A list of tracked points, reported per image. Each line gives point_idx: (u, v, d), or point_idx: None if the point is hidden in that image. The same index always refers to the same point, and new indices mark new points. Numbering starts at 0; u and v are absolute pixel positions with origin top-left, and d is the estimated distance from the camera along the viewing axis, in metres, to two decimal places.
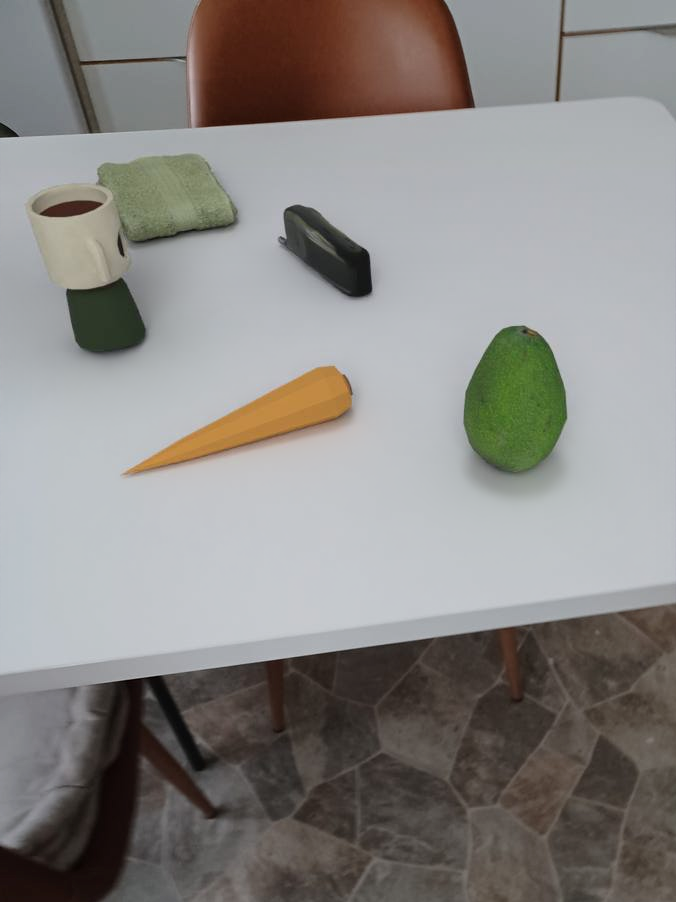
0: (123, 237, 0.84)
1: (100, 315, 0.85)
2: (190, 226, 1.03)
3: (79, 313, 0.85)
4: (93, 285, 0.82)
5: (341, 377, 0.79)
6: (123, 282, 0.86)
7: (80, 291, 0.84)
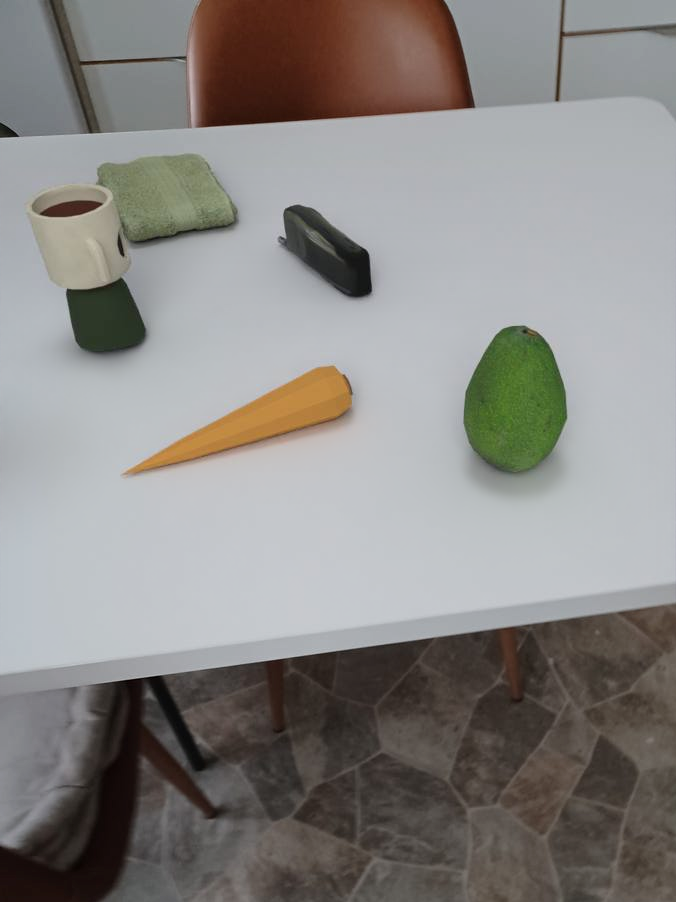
0: (123, 237, 0.84)
1: (100, 315, 0.85)
2: (190, 226, 1.03)
3: (79, 313, 0.85)
4: (93, 285, 0.82)
5: (341, 377, 0.79)
6: (123, 282, 0.86)
7: (80, 291, 0.84)
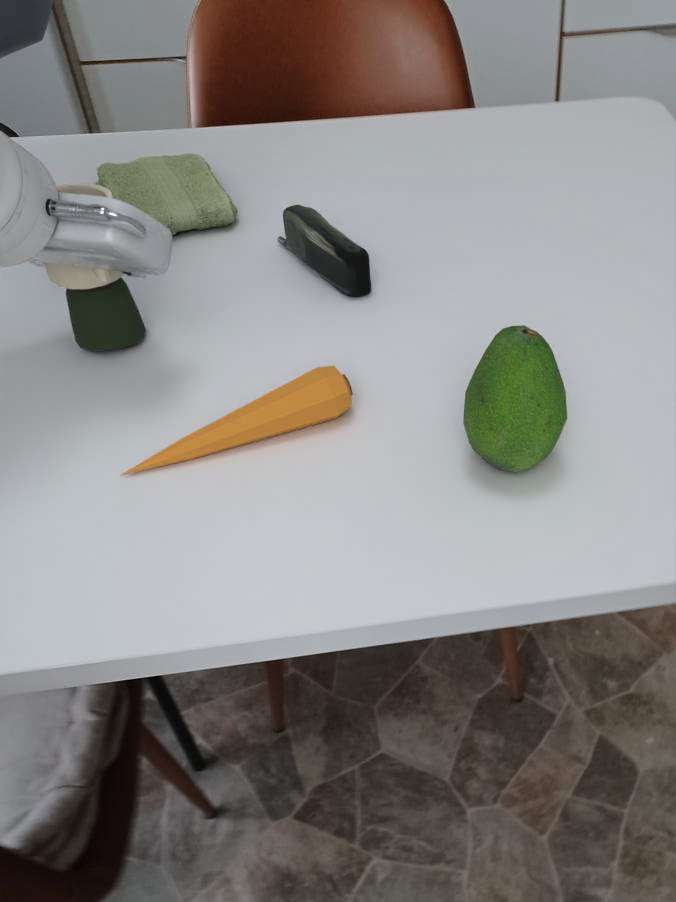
0: None
1: (100, 315, 0.85)
2: (190, 226, 1.03)
3: (79, 313, 0.85)
4: (93, 285, 0.82)
5: (341, 377, 0.79)
6: (123, 282, 0.86)
7: (79, 291, 0.84)
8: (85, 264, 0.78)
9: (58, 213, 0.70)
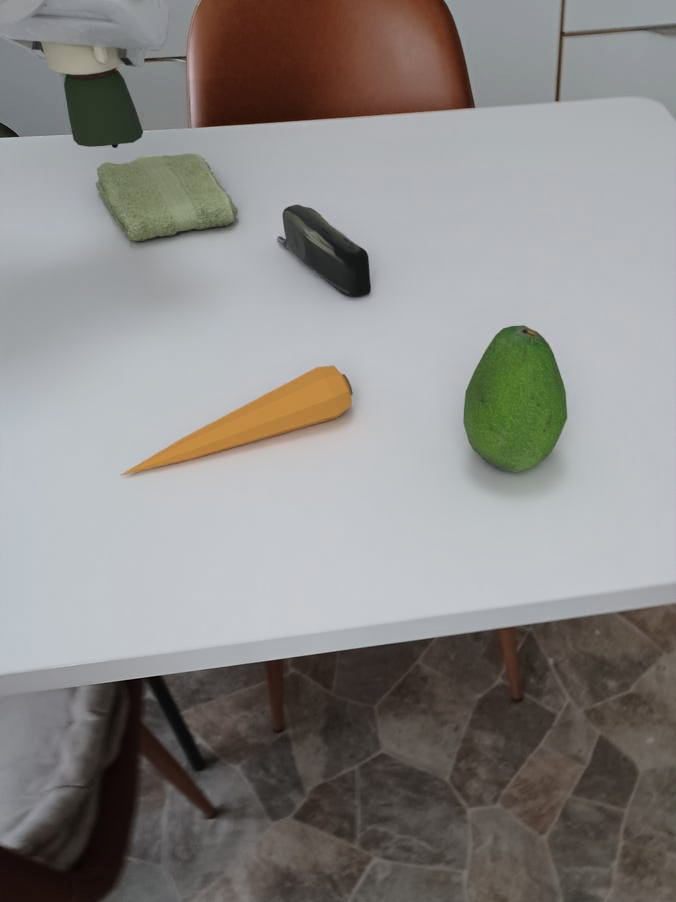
0: None
1: (98, 106, 0.86)
2: (190, 226, 1.03)
3: (77, 103, 0.86)
4: (91, 70, 0.83)
5: (341, 377, 0.79)
6: (120, 76, 0.87)
7: (77, 80, 0.85)
8: (83, 39, 0.79)
9: None
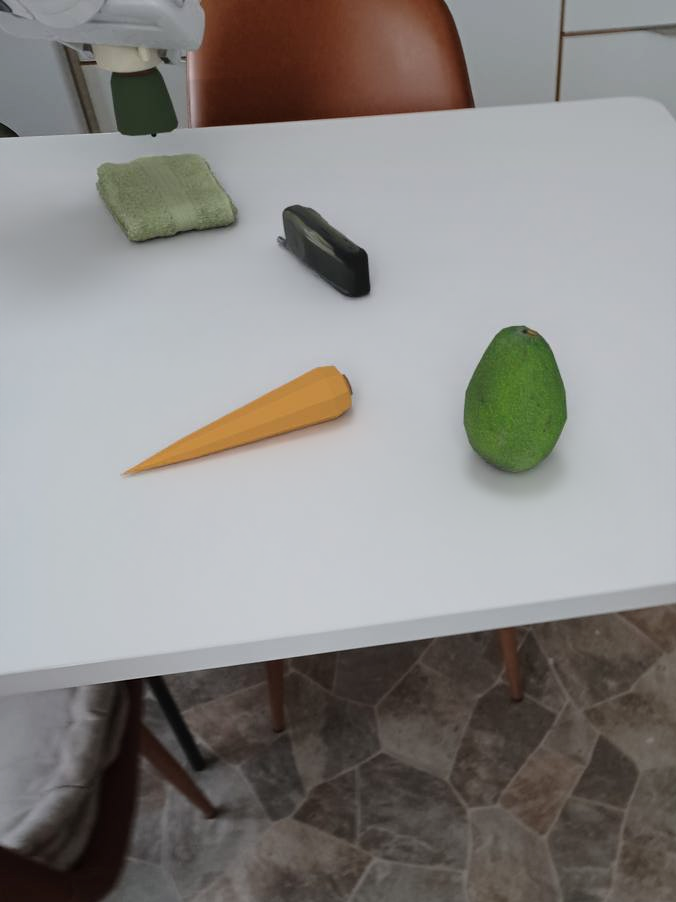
0: None
1: (140, 100, 0.98)
2: (190, 226, 1.03)
3: (122, 98, 0.98)
4: (135, 68, 0.95)
5: (341, 377, 0.79)
6: (159, 73, 0.99)
7: (123, 77, 0.97)
8: (130, 41, 0.91)
9: None
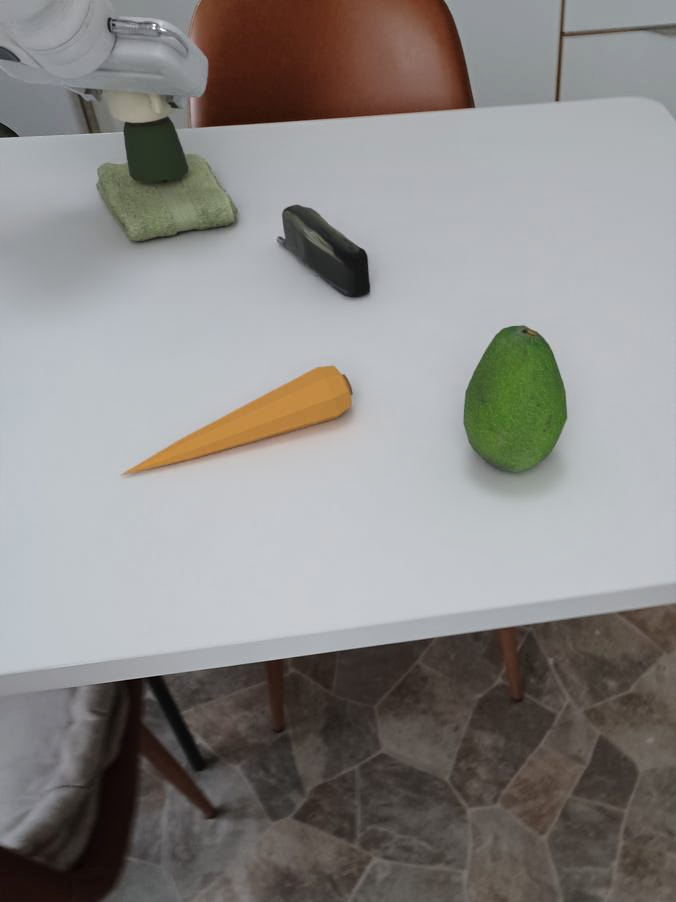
0: None
1: (152, 148, 1.01)
2: (190, 226, 1.03)
3: (135, 146, 1.01)
4: (147, 119, 0.98)
5: (341, 377, 0.79)
6: (171, 122, 1.02)
7: (135, 126, 1.00)
8: (135, 87, 0.93)
9: (117, 29, 0.85)
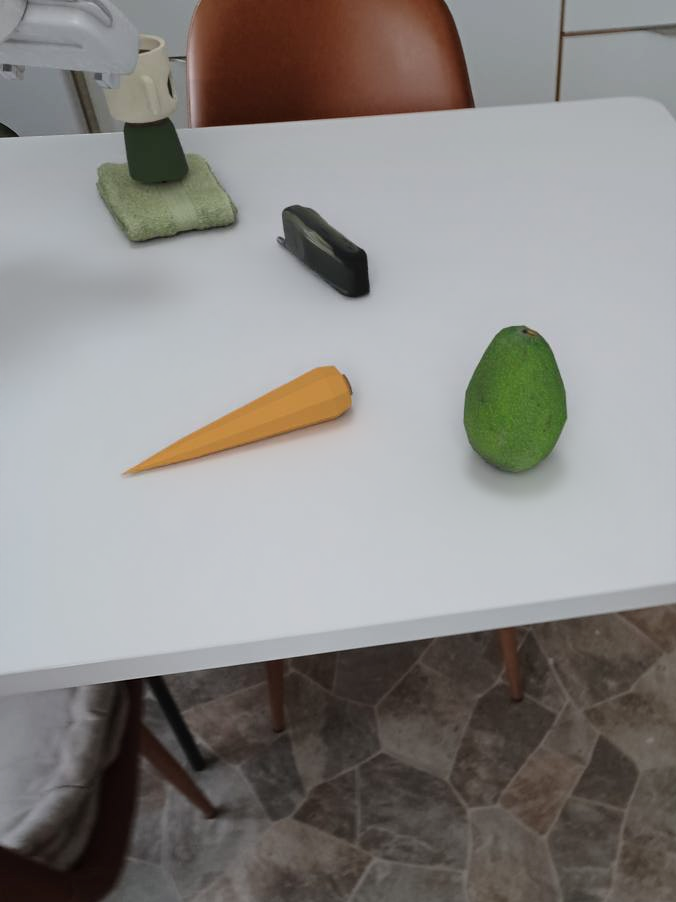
0: (172, 82, 1.00)
1: (151, 149, 1.01)
2: (190, 226, 1.03)
3: (134, 146, 1.01)
4: (146, 119, 0.98)
5: (341, 377, 0.79)
6: (171, 123, 1.02)
7: (135, 127, 1.00)
8: (55, 63, 0.81)
9: None
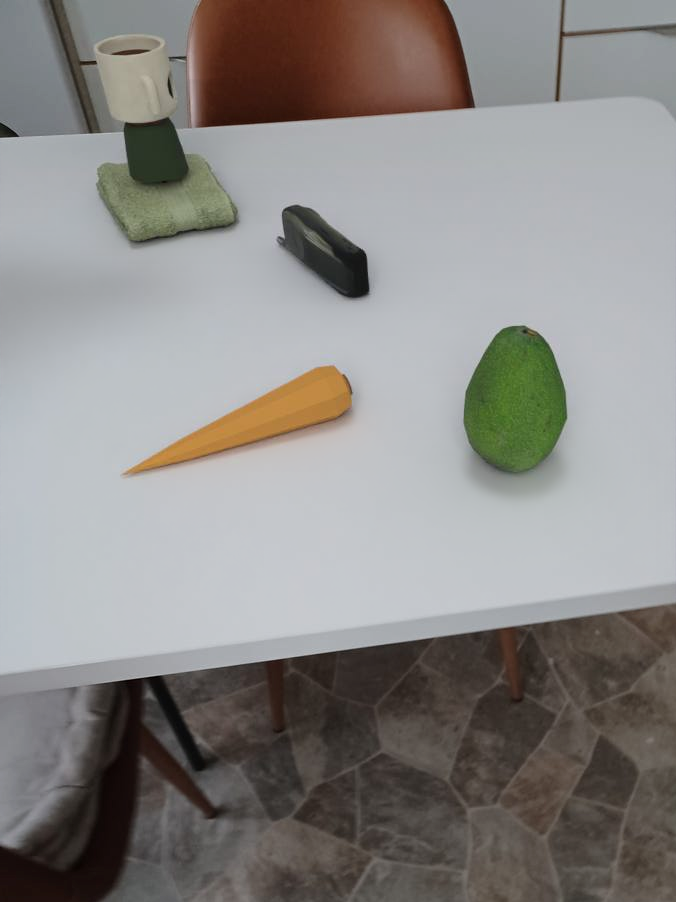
0: (172, 82, 1.00)
1: (151, 149, 1.01)
2: (190, 226, 1.03)
3: (134, 146, 1.01)
4: (146, 119, 0.98)
5: (341, 377, 0.79)
6: (171, 123, 1.02)
7: (135, 127, 1.00)
8: None
9: None
